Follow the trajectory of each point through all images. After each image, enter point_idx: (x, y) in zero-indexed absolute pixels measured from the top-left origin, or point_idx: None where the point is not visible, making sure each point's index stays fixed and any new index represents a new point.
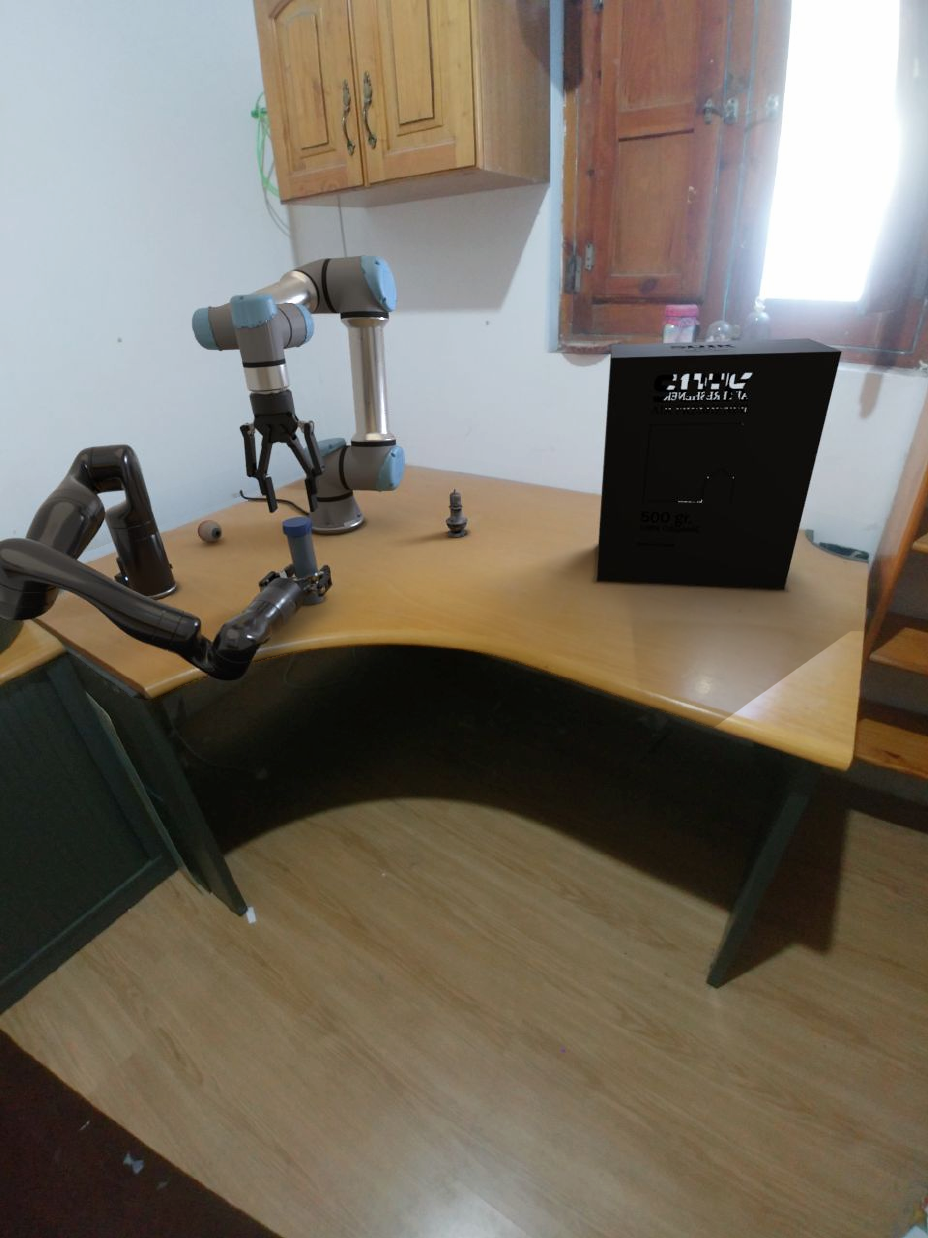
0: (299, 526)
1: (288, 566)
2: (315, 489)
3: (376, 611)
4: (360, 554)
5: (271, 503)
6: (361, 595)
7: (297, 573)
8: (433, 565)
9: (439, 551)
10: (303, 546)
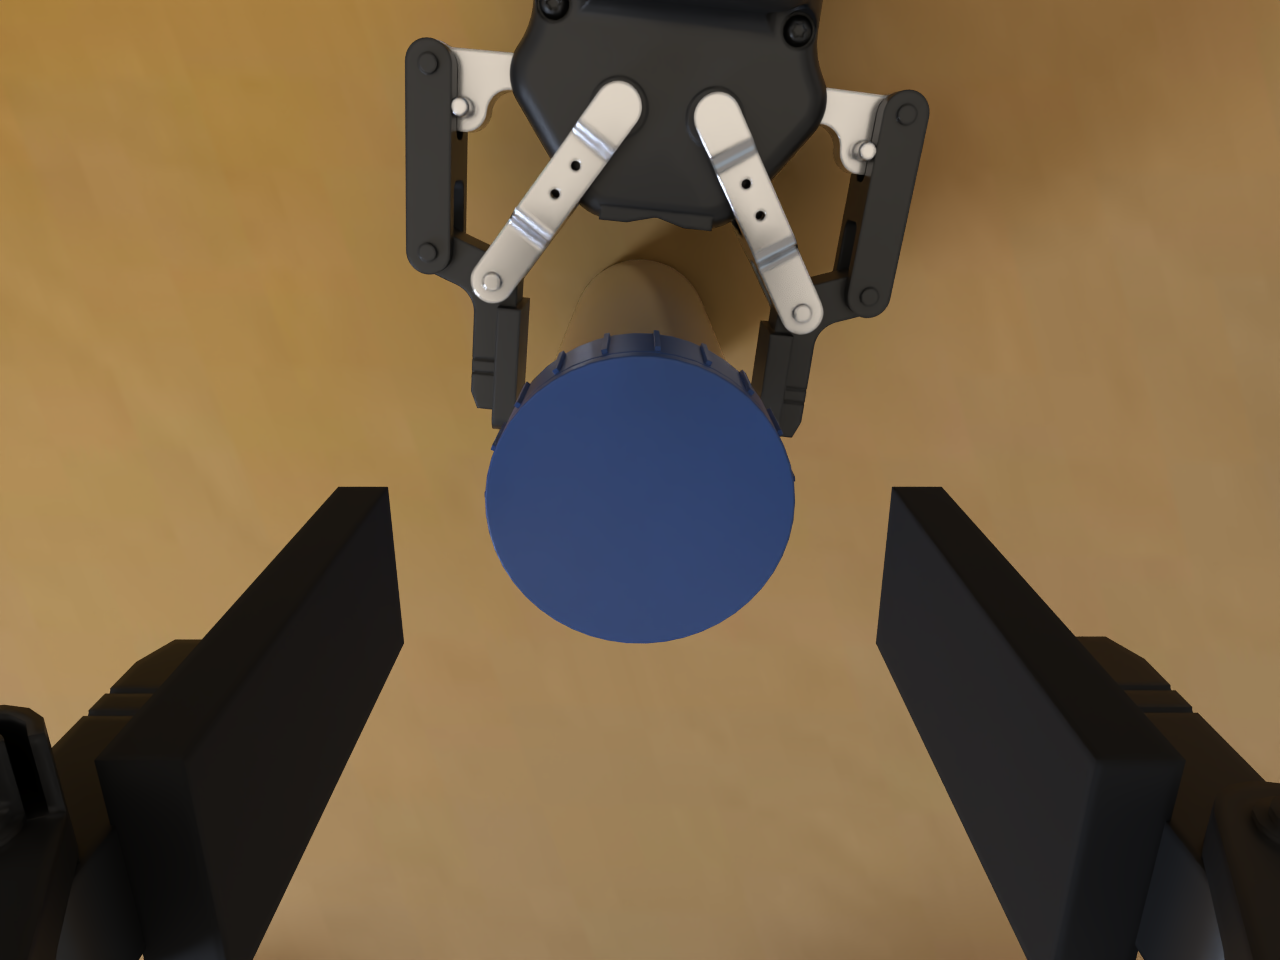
0: (557, 377)
1: (776, 398)
2: (138, 683)
3: (197, 174)
4: (529, 841)
5: (928, 544)
6: (358, 374)
7: (678, 298)
8: (75, 713)
9: None
10: (580, 343)
